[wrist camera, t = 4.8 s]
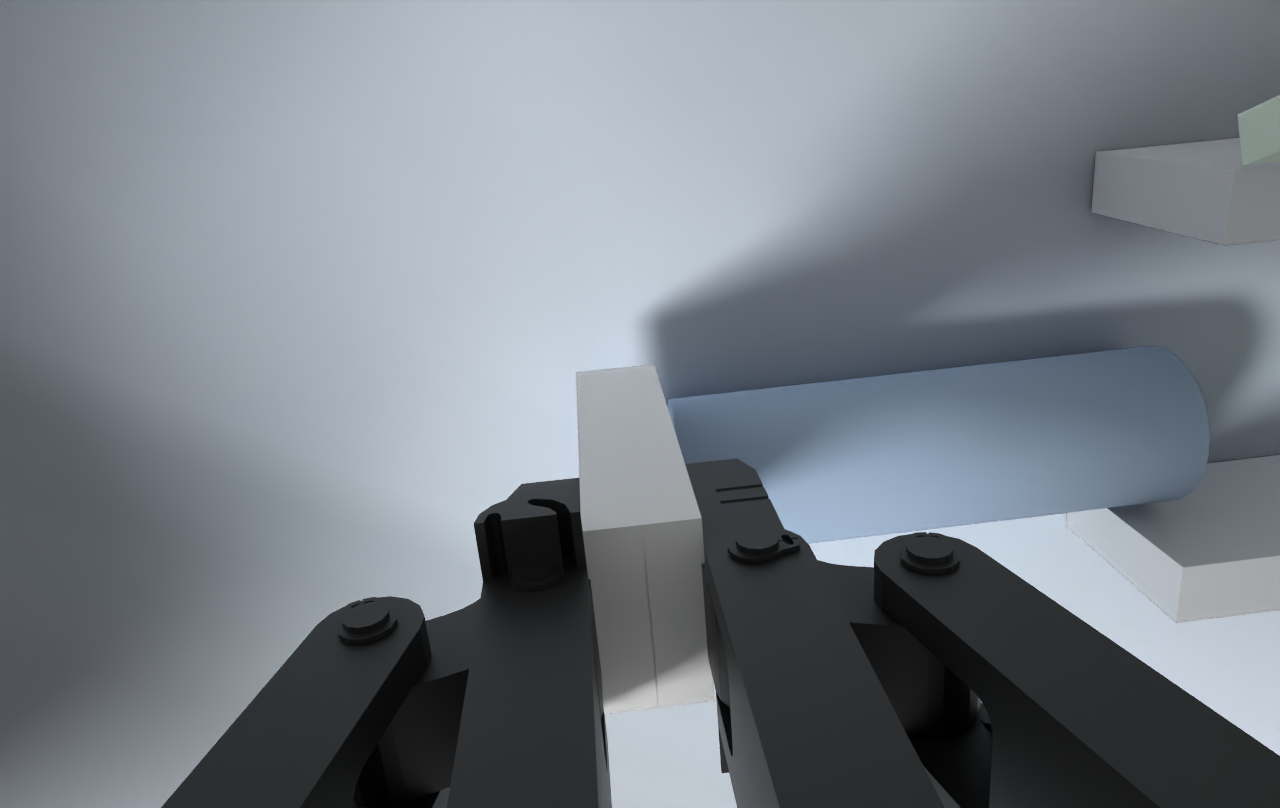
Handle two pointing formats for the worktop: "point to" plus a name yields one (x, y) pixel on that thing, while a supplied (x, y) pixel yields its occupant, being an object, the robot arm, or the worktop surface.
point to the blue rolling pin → (961, 441)
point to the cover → (1260, 132)
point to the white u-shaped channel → (1229, 490)
